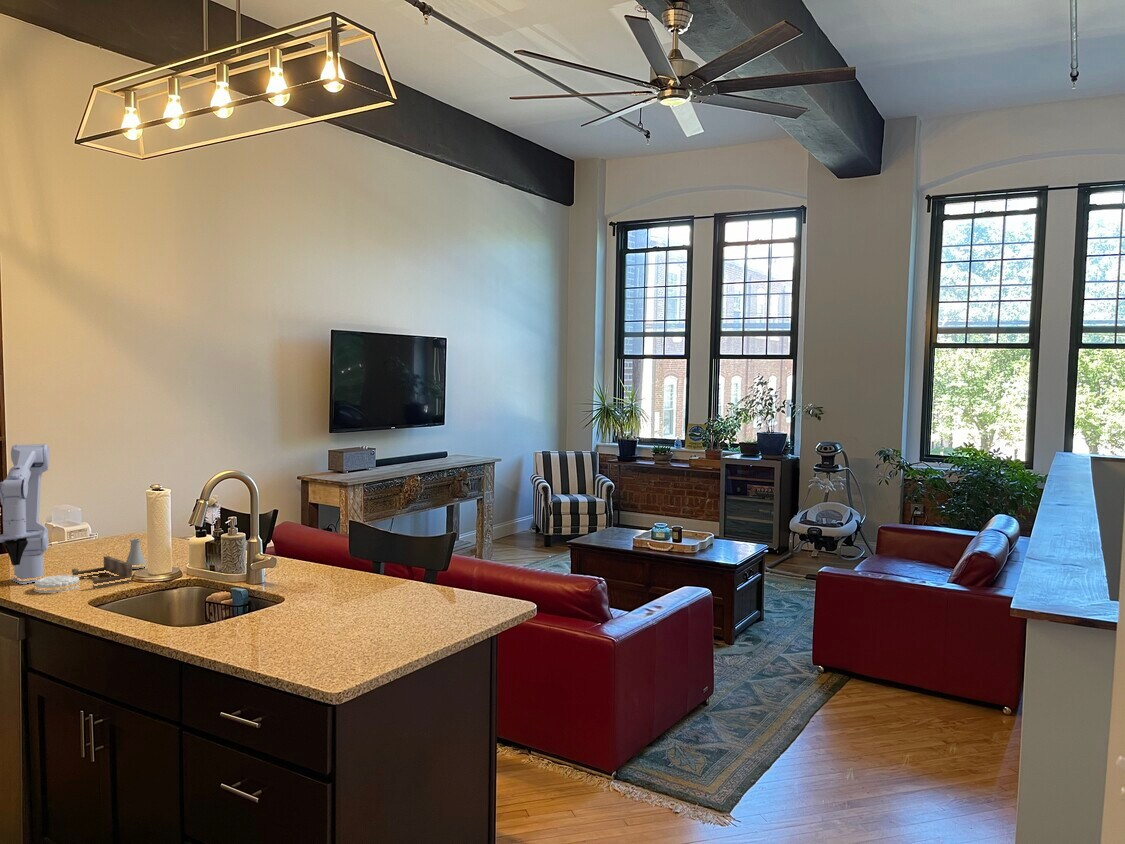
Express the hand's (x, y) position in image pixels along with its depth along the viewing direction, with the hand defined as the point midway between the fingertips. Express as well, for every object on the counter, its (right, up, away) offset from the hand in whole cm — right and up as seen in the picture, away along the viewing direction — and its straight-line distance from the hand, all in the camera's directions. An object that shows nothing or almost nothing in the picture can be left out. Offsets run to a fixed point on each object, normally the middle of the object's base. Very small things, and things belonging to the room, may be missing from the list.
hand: (15, 564), depth 247 cm
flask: (+17, -8, +37) cm, 42 cm away
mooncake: (+7, -10, +9) cm, 15 cm away
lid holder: (+15, -9, +19) cm, 26 cm away
